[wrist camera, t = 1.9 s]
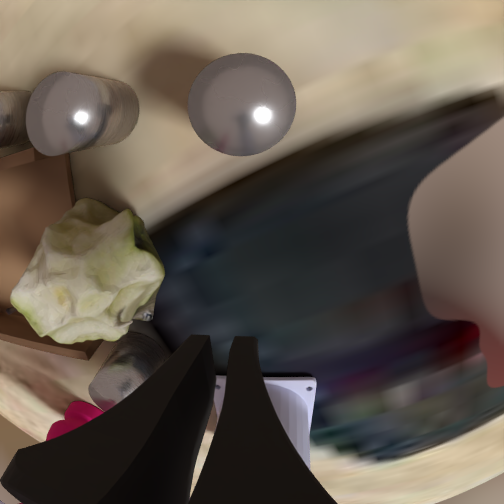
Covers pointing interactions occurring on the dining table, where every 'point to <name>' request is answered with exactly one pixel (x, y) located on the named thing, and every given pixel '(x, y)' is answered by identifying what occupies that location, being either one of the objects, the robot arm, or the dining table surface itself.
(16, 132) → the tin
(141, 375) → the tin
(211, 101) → the grey metal cylinder
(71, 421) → the pepper mill
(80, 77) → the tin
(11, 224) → the tray
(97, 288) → the pale green lumpy ball
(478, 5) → the dining table surface
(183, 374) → the robot arm
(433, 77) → the dining table surface
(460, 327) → the dining table surface
